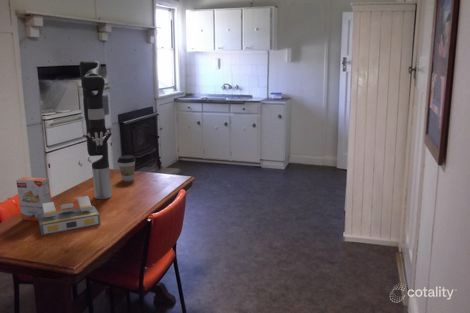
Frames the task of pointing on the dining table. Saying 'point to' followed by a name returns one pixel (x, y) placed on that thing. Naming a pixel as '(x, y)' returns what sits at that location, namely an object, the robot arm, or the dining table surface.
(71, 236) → the dining table surface
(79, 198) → the rocker right
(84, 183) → the dining table surface
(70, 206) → the rocker mid
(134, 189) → the dining table surface
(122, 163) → the coffee cup
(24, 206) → the cracker box
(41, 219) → the switch unit
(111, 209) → the dining table surface
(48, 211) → the rocker left
